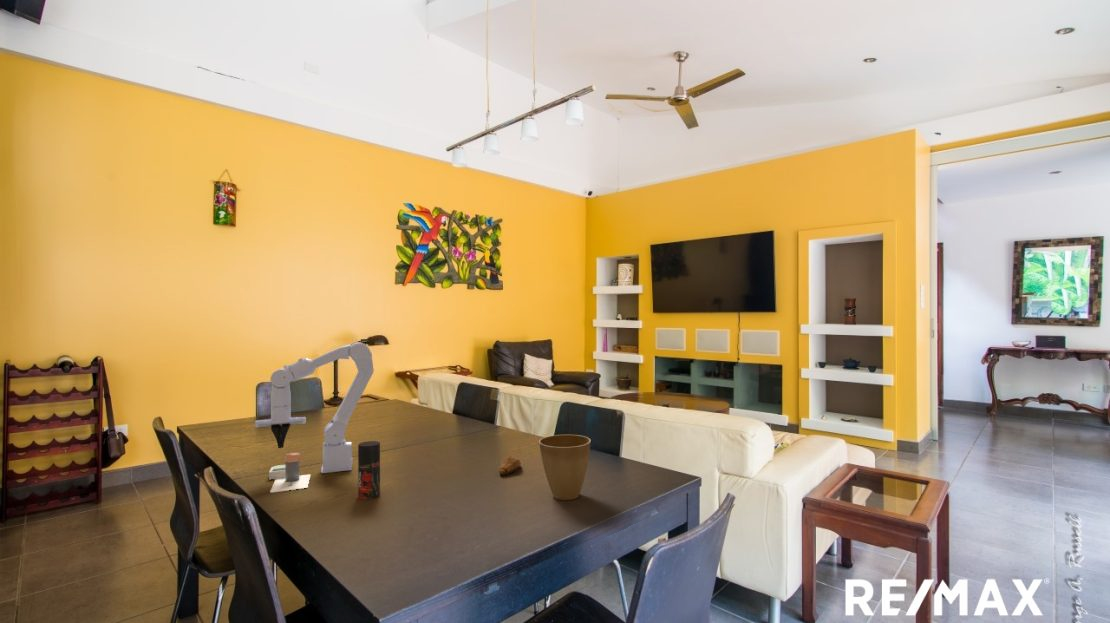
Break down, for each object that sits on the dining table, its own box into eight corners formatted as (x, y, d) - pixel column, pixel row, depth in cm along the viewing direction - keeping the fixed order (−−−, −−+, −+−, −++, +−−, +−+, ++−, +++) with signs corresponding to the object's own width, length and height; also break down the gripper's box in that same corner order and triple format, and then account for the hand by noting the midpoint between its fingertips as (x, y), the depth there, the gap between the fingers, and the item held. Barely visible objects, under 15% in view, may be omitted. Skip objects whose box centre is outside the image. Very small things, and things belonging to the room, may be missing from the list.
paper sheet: (310, 475, 165) (310, 474, 165) (307, 488, 152) (307, 487, 152) (276, 479, 161) (276, 478, 161) (269, 493, 148) (269, 491, 148)
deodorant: (384, 493, 147) (384, 442, 147) (369, 500, 142) (369, 447, 142) (369, 490, 150) (369, 440, 150) (353, 497, 144) (353, 444, 144)
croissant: (511, 478, 161) (511, 462, 161) (492, 476, 163) (492, 460, 163) (527, 466, 174) (527, 451, 174) (509, 464, 176) (509, 450, 176)
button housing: (292, 472, 168) (292, 464, 168) (290, 477, 163) (290, 469, 163) (271, 474, 166) (271, 466, 166) (269, 479, 160) (269, 472, 160)
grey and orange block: (302, 478, 161) (302, 453, 161) (292, 482, 157) (293, 456, 157) (291, 477, 162) (292, 452, 162) (282, 481, 158) (282, 455, 158)
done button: (288, 471, 167) (288, 464, 167) (287, 475, 163) (287, 467, 163) (274, 473, 165) (274, 465, 165) (273, 476, 162) (273, 469, 162)
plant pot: (564, 483, 155) (564, 431, 155) (601, 495, 144) (601, 439, 144) (528, 496, 144) (528, 440, 145) (565, 509, 134) (565, 449, 134)
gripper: (306, 402, 171) (306, 442, 171) (257, 405, 166) (257, 446, 165) (304, 405, 165) (304, 447, 164) (253, 408, 159) (253, 451, 159)
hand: (280, 447), depth 164 cm, fingers closed
